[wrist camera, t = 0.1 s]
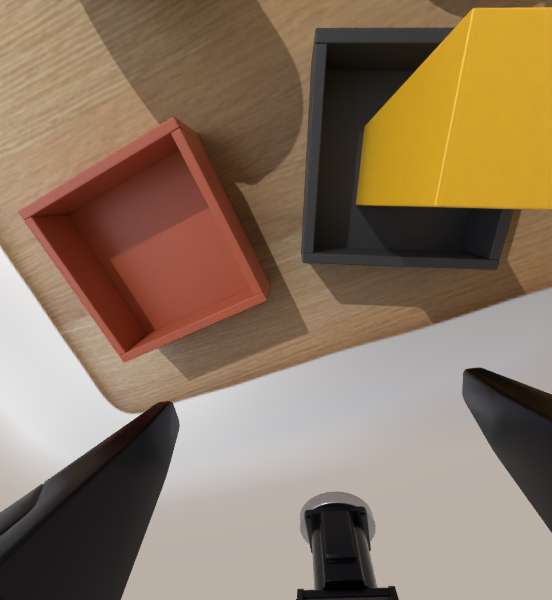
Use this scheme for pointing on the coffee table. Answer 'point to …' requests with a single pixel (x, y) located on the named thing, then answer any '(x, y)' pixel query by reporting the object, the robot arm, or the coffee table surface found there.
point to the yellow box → (469, 121)
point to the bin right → (347, 156)
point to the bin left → (150, 242)
